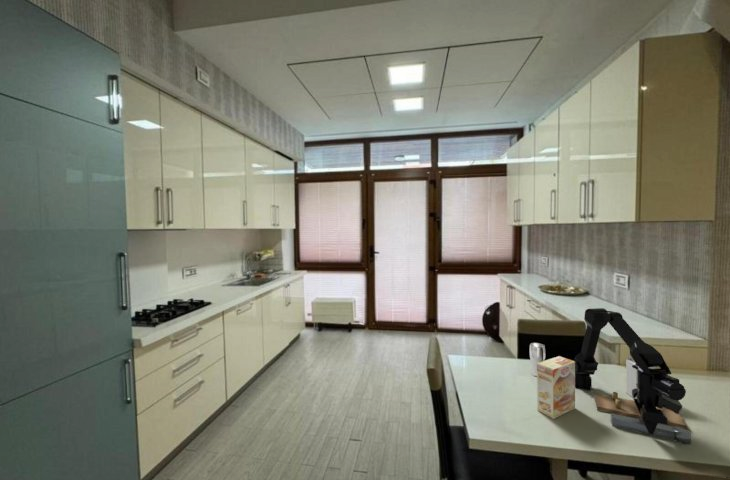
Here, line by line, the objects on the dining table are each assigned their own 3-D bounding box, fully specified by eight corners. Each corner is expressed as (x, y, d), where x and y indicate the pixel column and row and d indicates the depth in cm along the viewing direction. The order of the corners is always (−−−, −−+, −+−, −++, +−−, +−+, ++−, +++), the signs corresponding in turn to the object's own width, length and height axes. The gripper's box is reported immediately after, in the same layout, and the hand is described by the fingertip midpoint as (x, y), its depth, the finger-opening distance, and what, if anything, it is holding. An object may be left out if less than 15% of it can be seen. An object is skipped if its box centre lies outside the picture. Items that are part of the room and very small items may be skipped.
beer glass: (543, 372, 160) (543, 343, 160) (546, 378, 154) (546, 348, 153) (528, 370, 162) (528, 342, 162) (531, 376, 156) (530, 346, 156)
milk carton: (656, 402, 130) (656, 357, 130) (636, 401, 132) (636, 356, 131) (644, 393, 137) (644, 350, 137) (626, 392, 139) (625, 350, 138)
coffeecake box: (554, 419, 121) (553, 369, 120) (536, 410, 127) (535, 362, 127) (576, 408, 128) (576, 361, 127) (558, 400, 134) (558, 355, 134)
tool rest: (597, 410, 126) (597, 399, 126) (593, 396, 136) (593, 386, 136) (686, 429, 113) (686, 417, 113) (675, 412, 123) (675, 401, 123)
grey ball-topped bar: (612, 426, 115) (612, 418, 115) (610, 420, 120) (610, 412, 119) (693, 445, 104) (693, 437, 104) (688, 437, 108) (688, 429, 108)
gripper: (689, 404, 99) (689, 452, 100) (670, 379, 115) (670, 421, 116) (643, 395, 105) (643, 440, 106) (631, 373, 121) (631, 412, 122)
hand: (648, 428), depth 112 cm, fingers open, 7 cm apart
